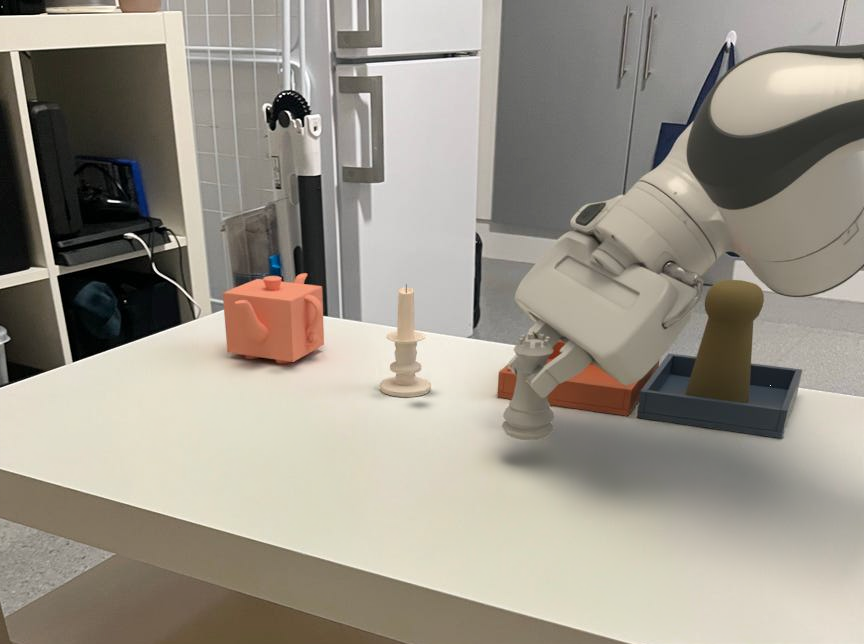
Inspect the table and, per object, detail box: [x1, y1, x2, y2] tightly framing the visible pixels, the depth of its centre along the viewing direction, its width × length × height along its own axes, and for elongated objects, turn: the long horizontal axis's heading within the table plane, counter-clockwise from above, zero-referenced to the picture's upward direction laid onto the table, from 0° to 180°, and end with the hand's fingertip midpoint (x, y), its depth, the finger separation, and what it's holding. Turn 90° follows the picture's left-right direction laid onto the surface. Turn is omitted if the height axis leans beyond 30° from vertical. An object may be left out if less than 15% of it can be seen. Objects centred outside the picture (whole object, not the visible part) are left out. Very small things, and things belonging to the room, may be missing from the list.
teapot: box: [222, 272, 325, 364], centre depth 112 cm, size 12×15×8 cm
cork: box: [685, 279, 765, 404], centre depth 96 cm, size 6×6×11 cm
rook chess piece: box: [501, 333, 555, 441], centre depth 84 cm, size 4×4×8 cm
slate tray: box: [636, 353, 803, 439], centre depth 98 cm, size 13×13×3 cm
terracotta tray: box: [497, 340, 661, 417], centre depth 103 cm, size 13×13×3 cm
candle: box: [379, 283, 432, 398], centre depth 101 cm, size 5×5×10 cm
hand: (523, 382), depth 84 cm, fingers closed on rook chess piece, 3 cm apart
